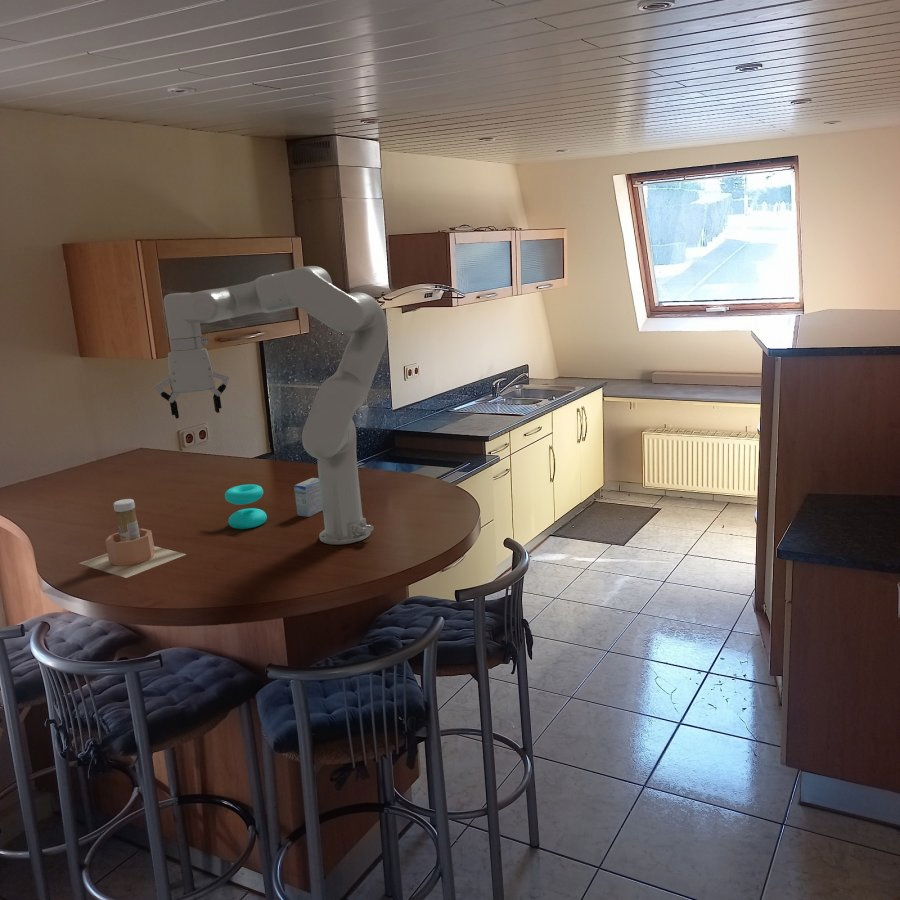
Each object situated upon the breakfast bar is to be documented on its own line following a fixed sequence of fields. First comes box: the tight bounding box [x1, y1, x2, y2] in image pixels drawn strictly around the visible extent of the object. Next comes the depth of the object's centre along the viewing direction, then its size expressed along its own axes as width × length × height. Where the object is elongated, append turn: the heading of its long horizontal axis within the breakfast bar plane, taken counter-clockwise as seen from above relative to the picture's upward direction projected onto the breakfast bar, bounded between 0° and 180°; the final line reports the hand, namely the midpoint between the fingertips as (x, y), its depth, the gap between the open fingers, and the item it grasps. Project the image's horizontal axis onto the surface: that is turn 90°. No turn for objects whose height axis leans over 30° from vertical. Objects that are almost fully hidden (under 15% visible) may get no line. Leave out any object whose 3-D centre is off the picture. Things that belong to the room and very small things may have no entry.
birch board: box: [78, 545, 187, 579], centre depth 197 cm, size 20×16×2 cm
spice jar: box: [113, 498, 140, 542], centre depth 195 cm, size 5×5×13 cm
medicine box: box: [293, 477, 323, 518], centre depth 226 cm, size 8×4×9 cm, turn 149°
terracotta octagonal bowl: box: [105, 528, 155, 566], centre depth 196 cm, size 10×10×6 cm
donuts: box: [224, 483, 268, 530], centre depth 220 cm, size 10×10×10 cm
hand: (197, 414), depth 203 cm, fingers open, 9 cm apart
